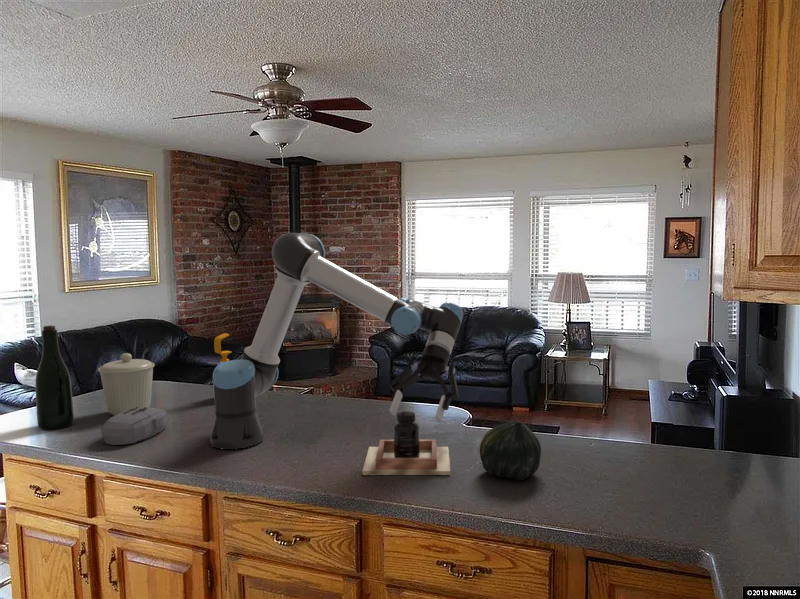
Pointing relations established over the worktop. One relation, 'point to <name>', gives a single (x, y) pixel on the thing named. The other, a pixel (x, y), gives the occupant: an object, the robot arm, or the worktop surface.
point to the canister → (127, 383)
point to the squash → (510, 451)
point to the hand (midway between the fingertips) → (414, 416)
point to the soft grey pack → (134, 425)
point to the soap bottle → (218, 349)
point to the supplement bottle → (406, 436)
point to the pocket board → (407, 460)
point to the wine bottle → (53, 386)
